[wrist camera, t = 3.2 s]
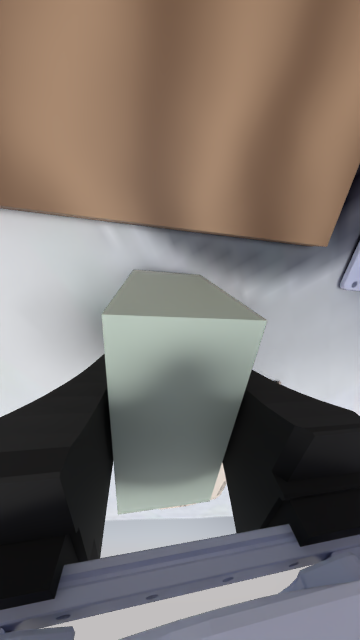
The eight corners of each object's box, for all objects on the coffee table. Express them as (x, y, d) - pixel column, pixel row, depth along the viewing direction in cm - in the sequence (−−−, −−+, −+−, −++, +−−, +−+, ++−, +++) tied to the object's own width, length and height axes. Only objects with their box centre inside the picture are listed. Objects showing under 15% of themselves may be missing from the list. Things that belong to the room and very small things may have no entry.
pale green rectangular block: (200, 275, 11) (267, 320, 4) (184, 386, 14) (209, 501, 8) (133, 269, 10) (101, 314, 4) (134, 388, 14) (118, 514, 7)
